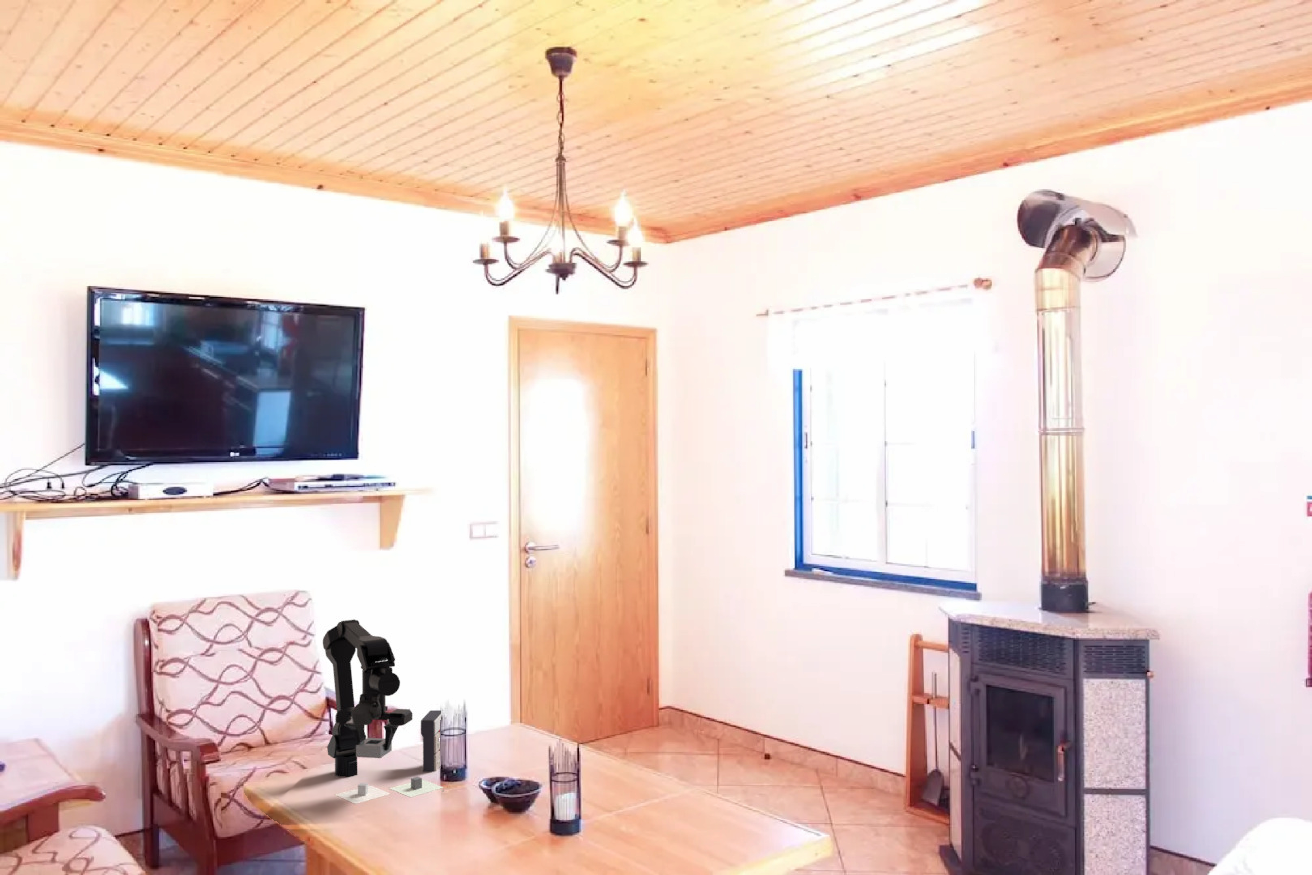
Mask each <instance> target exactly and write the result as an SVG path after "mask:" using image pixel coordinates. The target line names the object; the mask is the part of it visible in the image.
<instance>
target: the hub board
mask: <svg viewBox="0 0 1312 875" xmlns="http://www.w3.org/2000/svg"><path fill="white" fill-rule="evenodd" d="M443 788H444V786H442V785H438V784H436V783H434V782H430V781H428V780H426V779H423V778H422V777H420V776H414V777H411V778H410V782H407V783H404V784H399V785H397V786H393V787H390V788H388V789H389V790H391V791H393V792H396V793H399V794H402V795H404V796H407V797H408V798H414V797H416V796H420V795H424V794H427V793H430V792H431V793H432V792H434V791H437V790H440V789H443ZM442 791H443V792H445V790H444V789H443V790H442Z"/></svg>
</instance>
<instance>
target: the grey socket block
mask: <svg viewBox="0 0 1312 875" xmlns="http://www.w3.org/2000/svg"><path fill="white" fill-rule="evenodd" d="M392 744H393V741H392V742H391V744H390V747H389V749H388V750H387V751H386V750H385V738H381V737H380V738H379V737H377V738H375V737H366V739H365V740H364V741H362V742H360V743H359V744H357V745H356V757H357V758H369V759H381V758H383V757H385V756H386V755H387V754H389V753H391V751H392V749H393V748H392Z"/></svg>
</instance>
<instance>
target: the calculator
mask: <svg viewBox="0 0 1312 875" xmlns="http://www.w3.org/2000/svg"><path fill="white" fill-rule="evenodd" d="M440 720H441V710H439V709H438V710H437V709H436V710H429V711H428V712H427V714H426V715H424V716H423V718H421V720H420V734H421V737H422V751H423V752H422V765H423V766H422V772H424V773H425V772H426V773H432V772H433V773H434V772H436V771H438V770H440V768H441V767H440V741H439V738H440ZM439 767H440V768H439Z"/></svg>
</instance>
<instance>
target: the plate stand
mask: <svg viewBox="0 0 1312 875" xmlns="http://www.w3.org/2000/svg"><path fill="white" fill-rule="evenodd" d="M389 795H391V793H389V792H387V791H385V790H382V789H380V788H377V787H375V786H373V785H369V783H368V782H359V784H357V788H356V789H355V788H354V789H351V790H347V791H343V792H340V793H336V794H335V796H336V797H339V798H341V799H343V800H346V801H347V802H350V803H352V804H354V805H358V804H361V803H364V802H367V801H370V800H375V799H379V798H382V797H386V796H389Z"/></svg>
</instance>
